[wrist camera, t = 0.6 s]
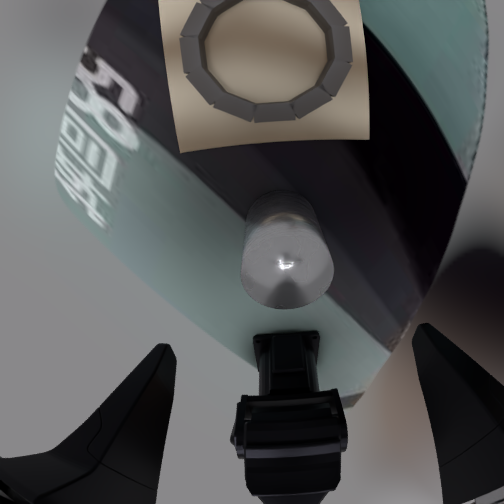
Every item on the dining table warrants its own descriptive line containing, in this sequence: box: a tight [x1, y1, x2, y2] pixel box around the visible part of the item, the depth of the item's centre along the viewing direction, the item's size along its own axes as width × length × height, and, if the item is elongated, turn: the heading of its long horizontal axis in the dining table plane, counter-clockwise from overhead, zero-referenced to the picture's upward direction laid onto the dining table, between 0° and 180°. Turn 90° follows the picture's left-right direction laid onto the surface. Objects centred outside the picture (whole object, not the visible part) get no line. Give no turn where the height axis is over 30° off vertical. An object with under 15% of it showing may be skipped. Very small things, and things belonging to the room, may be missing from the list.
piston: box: [241, 190, 334, 309], centre depth 17 cm, size 5×5×6 cm
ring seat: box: [159, 0, 369, 153], centre depth 12 cm, size 12×12×2 cm
